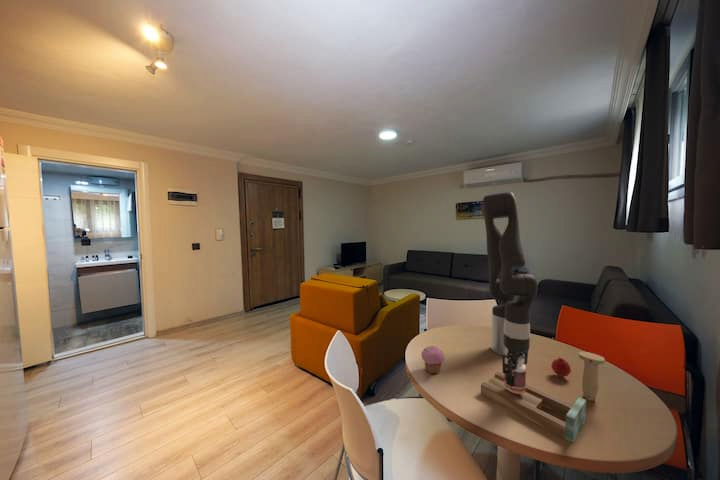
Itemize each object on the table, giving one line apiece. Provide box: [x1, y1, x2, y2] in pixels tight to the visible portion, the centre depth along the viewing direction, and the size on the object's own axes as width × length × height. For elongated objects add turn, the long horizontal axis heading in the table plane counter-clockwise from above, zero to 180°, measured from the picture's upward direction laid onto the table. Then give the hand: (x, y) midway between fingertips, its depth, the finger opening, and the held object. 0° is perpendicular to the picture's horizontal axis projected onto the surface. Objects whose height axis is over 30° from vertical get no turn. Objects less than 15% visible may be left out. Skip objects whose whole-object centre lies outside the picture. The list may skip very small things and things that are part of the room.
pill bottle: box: [504, 358, 527, 394], centre depth 89 cm, size 6×6×11 cm
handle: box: [578, 351, 606, 402], centre depth 89 cm, size 5×6×15 cm
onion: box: [551, 356, 572, 378], centre depth 101 cm, size 6×6×8 cm
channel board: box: [480, 371, 587, 444], centre depth 86 cm, size 12×26×7 cm, turn 37°
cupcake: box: [421, 345, 445, 374], centre depth 106 cm, size 9×9×10 cm
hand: (514, 381), depth 89 cm, fingers closed on pill bottle, 6 cm apart
